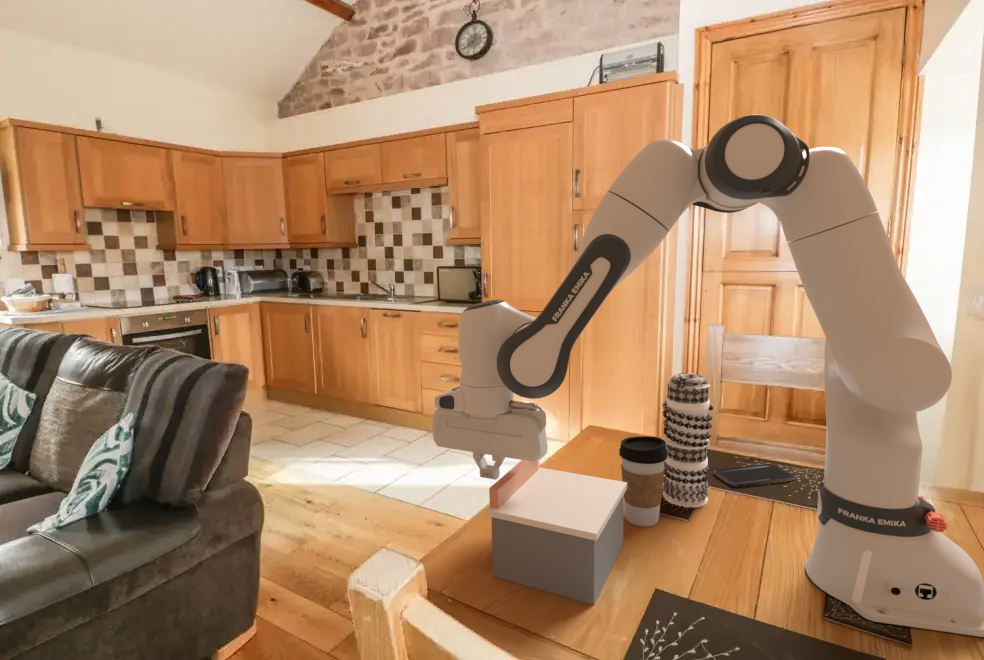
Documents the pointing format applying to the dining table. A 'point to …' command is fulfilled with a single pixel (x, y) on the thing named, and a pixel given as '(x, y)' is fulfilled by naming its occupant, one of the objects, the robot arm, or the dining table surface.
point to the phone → (753, 475)
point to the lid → (555, 500)
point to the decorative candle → (687, 440)
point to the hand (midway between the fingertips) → (489, 477)
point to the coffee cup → (643, 478)
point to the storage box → (557, 557)
